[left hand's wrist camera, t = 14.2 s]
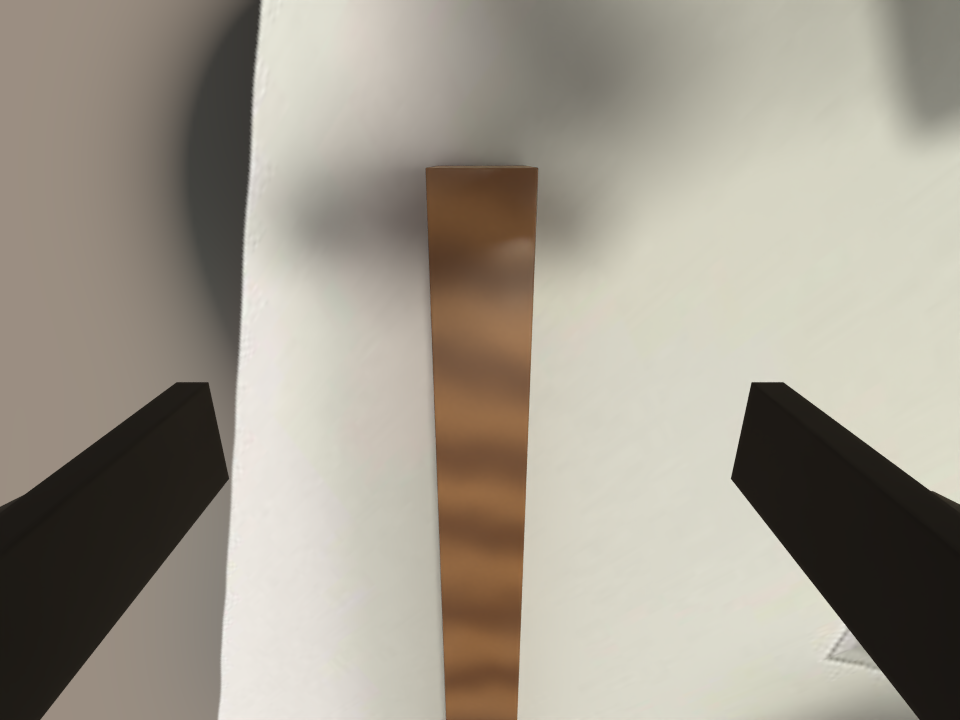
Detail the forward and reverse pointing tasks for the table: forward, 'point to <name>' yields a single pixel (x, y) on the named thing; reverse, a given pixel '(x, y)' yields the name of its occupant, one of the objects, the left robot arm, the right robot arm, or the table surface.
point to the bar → (481, 421)
